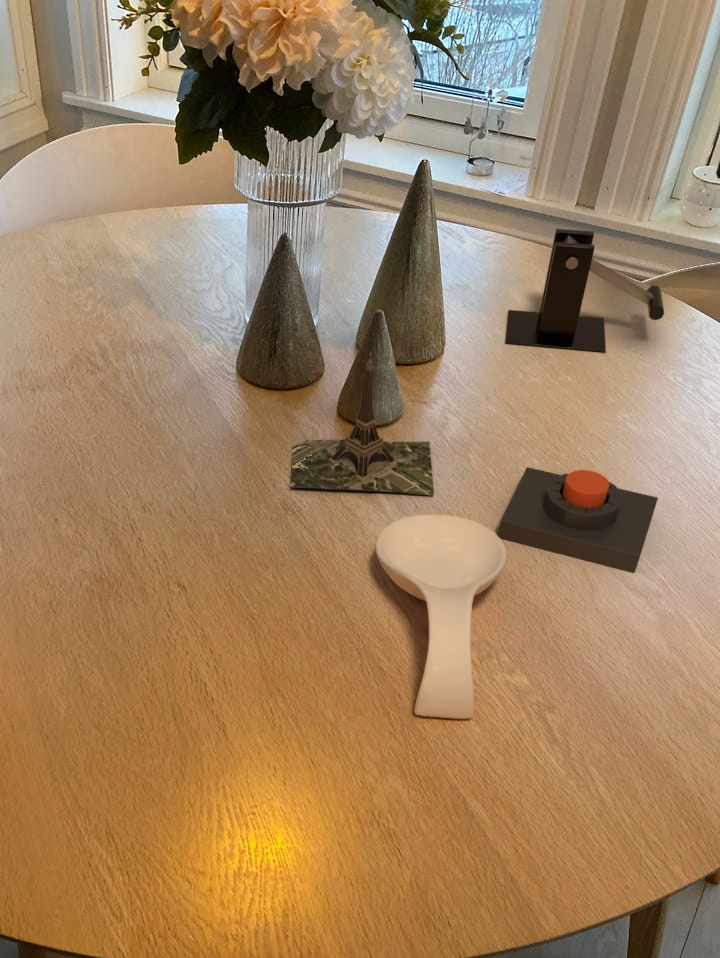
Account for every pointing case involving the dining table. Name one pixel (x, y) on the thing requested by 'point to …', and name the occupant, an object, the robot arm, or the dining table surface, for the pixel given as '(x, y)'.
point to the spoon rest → (443, 597)
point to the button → (585, 489)
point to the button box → (578, 522)
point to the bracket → (561, 302)
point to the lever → (629, 286)
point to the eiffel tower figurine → (363, 458)
